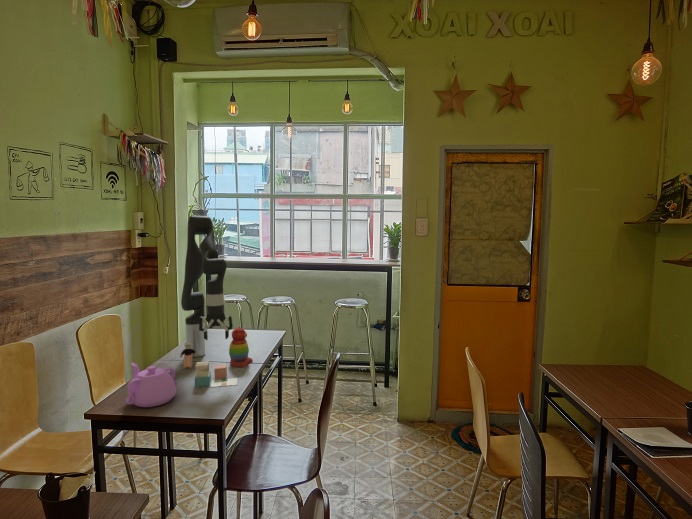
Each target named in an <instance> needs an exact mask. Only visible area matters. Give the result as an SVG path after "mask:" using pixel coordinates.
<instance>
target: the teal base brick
mask: <svg viewBox="0 0 692 519" xmlns="http://www.w3.org/2000/svg"><path fill="white" fill-rule="evenodd" d="M211 373H212V372H211V371H209V375H208V376H207V377H196V374H195V376H194V388H198V386H201V387H210V386H211V383H212V376H211ZM210 382H211V383H210ZM209 385H210V386H209Z"/></svg>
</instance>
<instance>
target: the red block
mask: <svg viewBox="0 0 692 519" xmlns="http://www.w3.org/2000/svg"><path fill="white" fill-rule="evenodd" d="M227 368H228V365H227V363H223V364H215V365H214V372H213V373H214V380H221V379H222V378H226V379H227V378H228V377H227V376H228V369H227Z"/></svg>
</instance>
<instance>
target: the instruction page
mask: <svg viewBox="0 0 692 519" xmlns="http://www.w3.org/2000/svg"><path fill="white" fill-rule="evenodd" d="M238 380H239V379H238V378H237V377H234V378H226V379H211V383H210V388H217V387H219V386H221V387H231V386H230V385H233V386H238ZM219 388H220V387H219Z"/></svg>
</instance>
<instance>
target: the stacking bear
mask: <svg viewBox="0 0 692 519" xmlns="http://www.w3.org/2000/svg"><path fill="white" fill-rule="evenodd" d="M247 336H248V333H247V332H246V331H245V330H244V328H241V327H240V326H238V327H237V328H234V329H233V330H232V331H231V338H232V340H231V342H230V344H229V349H228V354H229V357H230V362H229V365H231V366H232V367H235V368H246V367H247V366H248V364H250V363H253V358H251V357H249V345H248V341H247V339H246V338H247Z"/></svg>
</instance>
